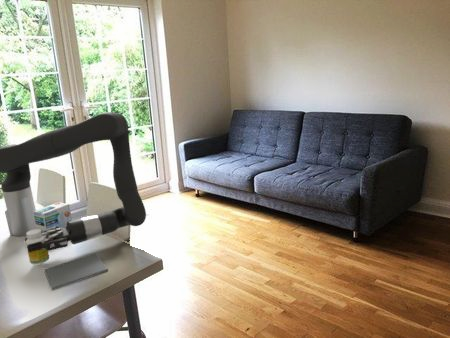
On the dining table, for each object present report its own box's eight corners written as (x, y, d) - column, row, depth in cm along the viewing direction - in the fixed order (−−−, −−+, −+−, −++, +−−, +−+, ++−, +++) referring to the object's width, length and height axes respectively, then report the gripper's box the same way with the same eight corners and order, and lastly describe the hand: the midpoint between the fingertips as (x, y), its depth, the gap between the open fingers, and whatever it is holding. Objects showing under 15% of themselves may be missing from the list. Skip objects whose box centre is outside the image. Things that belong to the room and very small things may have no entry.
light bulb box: (49, 242, 131) (43, 213, 128) (38, 239, 134) (31, 211, 131) (75, 230, 139) (70, 203, 137) (64, 228, 143) (58, 201, 140)
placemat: (52, 290, 100) (51, 288, 99) (44, 271, 110) (43, 269, 110) (107, 270, 108) (107, 268, 107) (95, 254, 118) (95, 253, 118)
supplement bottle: (42, 265, 111) (35, 235, 108) (26, 265, 112) (19, 235, 109) (53, 256, 116) (47, 228, 113) (38, 256, 117) (31, 227, 115)
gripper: (77, 212, 125) (21, 226, 116) (88, 224, 113) (27, 242, 104) (81, 232, 127) (26, 248, 118) (92, 247, 115) (32, 266, 106)
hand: (26, 245), depth 111 cm, fingers closed on supplement bottle, 5 cm apart
